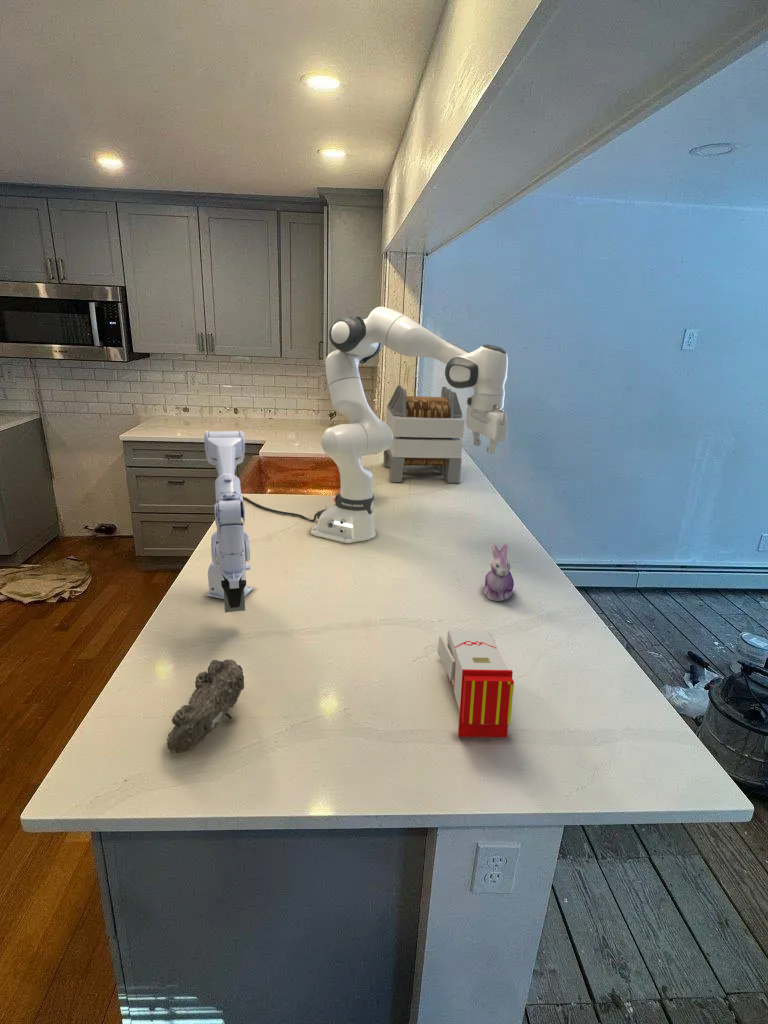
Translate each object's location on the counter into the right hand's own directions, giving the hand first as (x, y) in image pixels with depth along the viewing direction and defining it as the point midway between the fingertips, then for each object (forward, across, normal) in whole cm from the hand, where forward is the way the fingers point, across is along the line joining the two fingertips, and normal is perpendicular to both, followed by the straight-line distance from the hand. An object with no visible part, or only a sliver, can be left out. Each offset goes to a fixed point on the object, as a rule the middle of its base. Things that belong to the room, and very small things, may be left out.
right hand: (483, 449), depth 171 cm
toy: (+36, -62, +30) cm, 78 cm away
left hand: (+29, -27, +75) cm, 85 cm away
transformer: (+36, +97, -18) cm, 105 cm away
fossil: (+36, -58, +81) cm, 106 cm away
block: (+30, -27, +75) cm, 85 cm away
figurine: (+36, -25, +4) cm, 44 cm away
